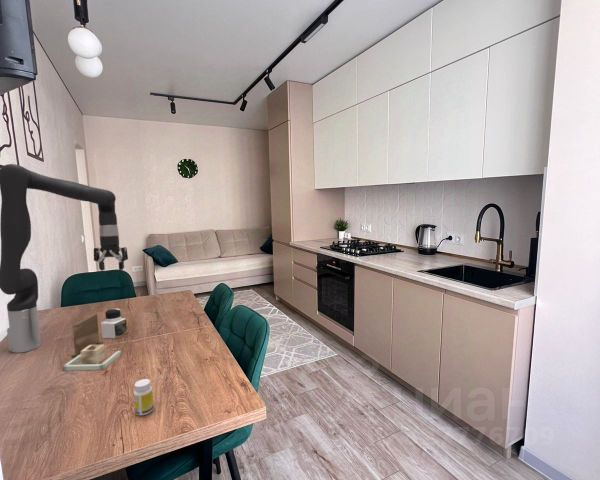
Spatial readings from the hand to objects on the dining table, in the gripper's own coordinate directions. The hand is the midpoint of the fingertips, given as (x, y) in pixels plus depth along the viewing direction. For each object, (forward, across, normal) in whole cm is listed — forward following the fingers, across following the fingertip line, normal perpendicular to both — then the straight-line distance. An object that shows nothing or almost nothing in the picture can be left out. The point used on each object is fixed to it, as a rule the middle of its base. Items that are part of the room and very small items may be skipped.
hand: (111, 270), depth 149 cm
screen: (+30, -1, -19) cm, 35 cm away
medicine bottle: (+30, +1, -4) cm, 30 cm away
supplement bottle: (+30, +41, -60) cm, 79 cm away
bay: (+30, +8, -29) cm, 42 cm away
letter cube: (+30, +8, -29) cm, 42 cm away
